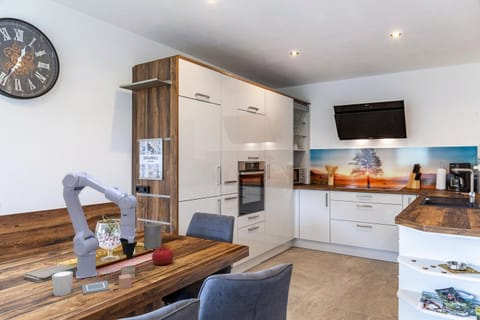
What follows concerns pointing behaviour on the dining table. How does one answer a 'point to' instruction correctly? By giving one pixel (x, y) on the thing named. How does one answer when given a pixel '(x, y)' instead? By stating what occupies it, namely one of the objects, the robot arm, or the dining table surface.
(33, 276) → the washcloth
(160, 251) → the pomegranate
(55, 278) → the grey cylinder
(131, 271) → the base block
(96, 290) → the base plate
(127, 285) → the top block
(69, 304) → the dining table surface
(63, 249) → the dining table surface
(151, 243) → the pillar candle
